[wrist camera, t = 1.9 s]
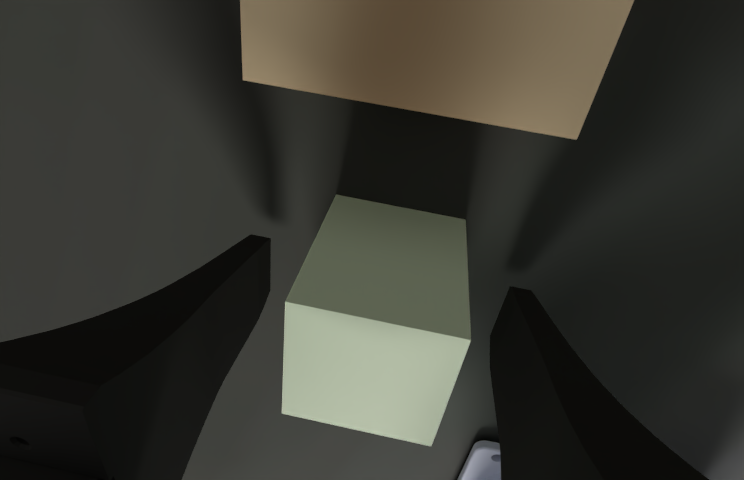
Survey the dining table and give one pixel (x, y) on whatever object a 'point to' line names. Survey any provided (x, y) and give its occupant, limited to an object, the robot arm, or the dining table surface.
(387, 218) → the sage cube
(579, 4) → the oak block
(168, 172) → the dining table surface
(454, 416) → the dining table surface
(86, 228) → the dining table surface
